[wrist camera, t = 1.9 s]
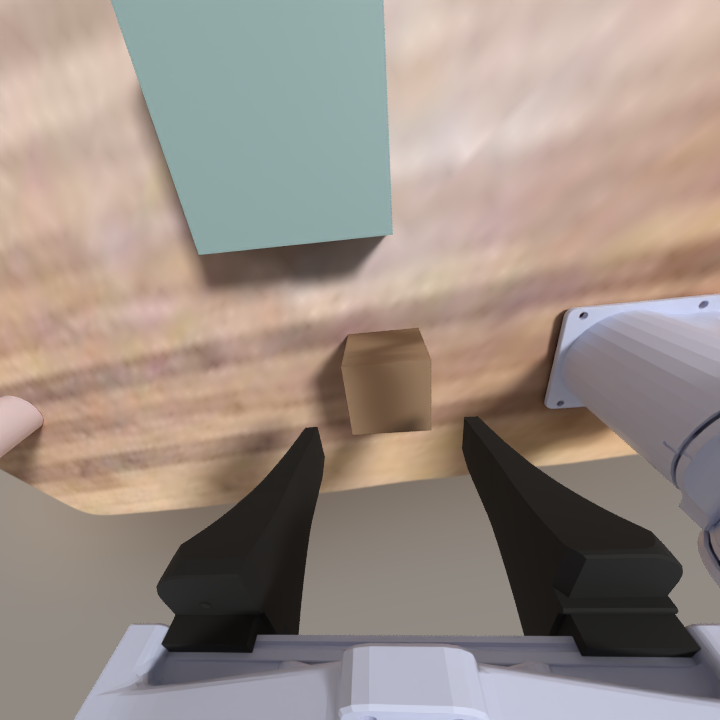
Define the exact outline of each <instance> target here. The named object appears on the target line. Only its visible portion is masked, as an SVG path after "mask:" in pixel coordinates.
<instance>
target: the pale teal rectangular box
mask: <svg viewBox="0 0 720 720" xmlns="http://www.w3.org/2000/svg"><path fill="white" fill-rule="evenodd" d="M111 3H112V5H113V8H114V11H115V14H116V17H117V20H118V23H119V26H120V29H121V31H122V34H123V37H124V40H125V43H126V46H127V49H128V52H129V55H130V57H131V60H132V63H133V66H134V69H135V72H136V75H137V78H138V81H139V83H140V86H141V89H142V92H143V95H144V98H145V101H146V104H147V107H148V110H149V112H150V115H151V118H152V121H153V124H154V127H155V130H156V133H157V136H158V138H159V141H160V144H161V147H162V150H163V153H164V156H165V159H166V162H167V164H168V167H169V170H170V173H171V176H172V179H173V182H174V185H175V188H176V190H177V193H178V196H179V199H180V202H181V205H182V208H183V211H184V214H185V216H186V219H187V222H188V225H189V228H190V231H191V234H192V237H193V240H194V242H195V245H196V248H197V251H198V254H199V255H203V254H213V253H222V252H232V251H241V250H251V249H260V248H270V247H280V246H289V245H299V244H308V243H318V242H327V241H337V240H346V239H356V238H365V237H375V236H384V235H393V230H392V205H391V180H390V155H389V130H388V105H387V80H386V55H385V29H384V4H383V0H111Z"/></svg>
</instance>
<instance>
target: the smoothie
mask: <svg viewBox="0 0 720 720" xmlns="http://www.w3.org/2000/svg"><path fill="white" fill-rule="evenodd" d="M42 424H43V417H42V415H41V413H40V412H39V411H38V409H37V408H36V407H34V406H33V405H32V404H30V403H29V402H27V401H25V400H23V399H21V398H19V397H15V396H3V397H0V458H1V457H2V456H3V455H5V454H6V453H7V452H8V451H10V450H11V449H12V448H14V447H15V446H16V445H17V444H19V443H20V442H21V441H23V440H24V439H25V438H26V437H28V436H29V435H30V434H32V433H33V432H34V431H35V430H37V429H38V428H39V427H40V426H42Z"/></svg>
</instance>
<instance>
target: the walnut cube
mask: <svg viewBox="0 0 720 720" xmlns="http://www.w3.org/2000/svg"><path fill="white" fill-rule="evenodd" d="M341 370H342V376H343V382H344V388H345V394H346V399H347V405H348V411H349V417H350V423H351V428H352V434H353V435H359V434H376V433H393V432H410V431H427V430H431V358H430V355H429V353H428V350H427V348H426V346H425V343H424V341H423V338H422V336H421V333H420V331H419V328H412V329H401V330H391V331H380V332H370V333H359V334H349V335H348V338H347V343H346V347H345V352H344V356H343V361H342V365H341Z"/></svg>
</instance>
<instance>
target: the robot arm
mask: <svg viewBox="0 0 720 720" xmlns="http://www.w3.org/2000/svg"><path fill="white" fill-rule="evenodd" d="M701 302H702V303H701ZM700 303H701V304H700ZM699 304H700V305H699ZM583 312H584V314H583V316H582V317H580V318H579V316H580V314H581V313H583ZM559 401H560V402H559ZM558 402H559V403H558ZM544 404H545V405H546V406H547V408H549V409H557V408H573V407H586V408H588V409H589V410H590V411H591V412H592V413H593V414H594V415H595V416H597V417H598V418H599V419H600V420H601V421H602V422H603V423H604V424H606V425H607V426H608V427H609V428H610V429H611V430H612V431H613V432H615V433H616V434H617V435H618V436H619V437H620V438H621V439H622V440H624V441H625V442H626V443H627V444H628V445H629V446H630V447H631V448H633V449H634V450H635V451H636V452H637V453H638V454H639V455H640V456H642V457H643V458H644V459H645V460H646V461H647V462H648V463H650V464H651V465H652V466H653V467H654V468H655V469H656V470H657V471H658V472H660V473H661V474H662V475H663V476H664V477H665V478H666V479H667V480H669V481H670V482H671V483H672V484H673V485H674V486H675V487H676V488H678V489H679V490H680V491H681V493H682V500H681V502H680V504H679V507H680V508H681V509H682V510H683V511H684V512H685V513H686V514H687V515H688V516H689V517H690V518H691V519H692V520H693V521H695V522H696V523H697V524H698V525H699V526H700V527H701V528H702V530H701V532H700V533H699V537H698V550H699V553H700V556H701V559H702V561H703V563H704V565H705V567H706V569H707V570H708V572H709V574H710V575H711V577H712V578H713V579H714V581H715V582H716V583H717V585H718V586H719V587H720V294H709V295H699V296H689V297H678V298H668V299H658V300H647V301H637V302H627V303H616V304H606V305H596V306H585V307H575V308H571V309H569V310H567V311H566V313H565V315H564V318H563V322H562V327H561V331H560V335H559V340H558V344H557V348H556V353H555V357H554V361H553V366H552V370H551V375H550V379H549V383H548V388H547V392H546V396H545V401H544ZM462 450H463V454H464V457H465V461H466V464H467V467H468V470H469V473H470V475H471V477H472V480H473V482H474V484H475V487H476V489H477V491H478V493H479V496H480V498H481V501H482V503H483V505H484V508H485V510H486V512H487V514H488V517H489V520H490V522H491V525H492V528H493V531H494V534H495V537H496V540H497V543H498V546H499V549H500V552H501V556H502V559H503V562H504V565H505V569H506V572H507V575H508V579H509V582H510V586H511V589H512V593H513V596H514V600H515V603H516V607H517V610H518V614H519V618H520V621H521V625H522V629H523V633H524V636H422V635H421V636H420V635H419V636H418V635H416V636H415V635H414V636H413V635H399V636H398V635H298V634H299V621H300V610H301V601H302V591H303V582H304V573H305V565H306V557H307V549H308V542H309V535H310V529H311V524H312V519H313V515H314V510H315V506H316V502H317V498H318V494H319V489H320V485H321V481H322V476H323V468H324V458H325V456H324V452H323V448H322V444H321V440H320V435H319V431H318V427H310V428H305V429H304V430H303V432H302V433H301V434H300V436H299V437H298V438H297V440H296V441H295V442H294V444H293V445H292V446H291V448H290V449H289V450H288V452H287V453H286V454H285V455H284V457H283V458H282V459H281V460H280V462H279V463H278V464H277V465H276V466H275V467H274V469H273V470H272V471H271V472H270V473H269V474H268V475H267V476H266V478H265V479H264V480H263V481H262V482H261V483H260V484H259V485H258V486H257V487H256V488H255V489H254V490H253V491H252V492H251V493H250V494H248V495H247V496H246V497H245V498H244V499H243V500H241V501H240V502H239V503H238V504H237V505H236V506H235V507H234V508H232V509H231V510H230V511H228V512H227V513H226V514H225V515H223V516H222V517H221V518H219V519H218V520H217V521H215V522H214V523H213V524H211V525H210V526H208V527H207V528H206V529H205V530H203V531H201V532H200V533H198V534H197V535H195V536H194V537H192V538H191V539H189V540H188V541H186V542H185V543H183V544H181V546H180V547H179V549H178V550H177V552H176V554H175V555H174V557H173V558H172V560H171V562H170V564H169V565H168V567H167V569H166V571H165V572H164V574H163V576H162V577H161V579H160V581H159V583H158V585H157V592H158V595H159V597H160V598H161V599H162V600H163V602H165V604H166V605H167V606H168V607H169V608H170V609H171V610H172V611H173V612H174V613H175V617H174V620H173V622H172V624H171V626H168V625H166V624H161V623H133V624H131V625H130V626H129V628H128V629H127V631H126V633H125V635H124V636H123V638H122V640H121V641H120V643H119V644H118V646H117V648H116V649H115V651H114V653H113V655H112V656H111V658H110V660H109V661H108V663H107V665H106V666H105V668H104V670H103V671H102V673H101V675H100V676H99V678H98V680H97V681H96V683H95V685H94V686H93V688H92V690H91V691H90V693H89V695H88V696H87V698H86V700H85V701H84V703H83V705H82V707H81V708H80V710H79V711H78V713H77V715H76V717H75V718H74V720H720V624H692V625H689V626H686V627H684V625H683V624H682V623H681V622H680V620H679V619H678V618H677V617H676V615H675V614H677V613H678V609H677V607H676V606H675V604H674V603H673V602H672V601H671V599H670V598H669V597H668V594H669V593H670V592H671V591H672V589H673V588H674V587H675V586H676V584H677V583H678V582H679V580H680V578H681V577H682V574H683V569H682V565H681V564H680V563H679V562H678V560H677V559H676V558H675V557H674V556H673V555H672V553H671V552H670V551H669V550H668V549H667V548H666V547H665V545H664V544H663V543H662V542H661V541H660V540H659V539H658V538H657V537H656V536H655V535H654V534H653V533H652V532H651V531H649V530H647V529H645V528H642V527H641V526H638V525H636V524H634V523H632V522H630V521H628V520H626V519H623V518H621V517H619V516H617V515H615V514H613V513H611V512H609V511H607V510H605V509H603V508H601V507H600V506H598V505H596V504H594V503H592V502H590V501H589V500H587V499H585V498H583V497H581V496H580V495H578V494H576V493H575V492H573V491H571V490H570V489H568V488H566V487H565V486H563V485H562V484H560V483H558V482H557V481H555V480H554V479H552V478H551V477H549V476H548V475H546V474H545V473H543V472H542V471H541V470H539V469H538V468H536V467H535V466H534V465H532V464H531V463H530V462H528V461H527V460H526V459H525V458H523V457H522V456H521V455H520V454H518V453H517V452H516V451H515V450H514V449H513V448H511V447H510V446H509V445H508V444H507V443H506V442H504V441H503V440H502V439H501V438H500V437H499V436H498V435H497V434H496V433H495V432H494V431H492V430H491V429H490V428H489V427H488V426H487V425H486V424H485V423H484V422H483V421H482V420H481V419H480V418H479V417H478V416H477V417H464V430H463V444H462Z"/></svg>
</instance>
